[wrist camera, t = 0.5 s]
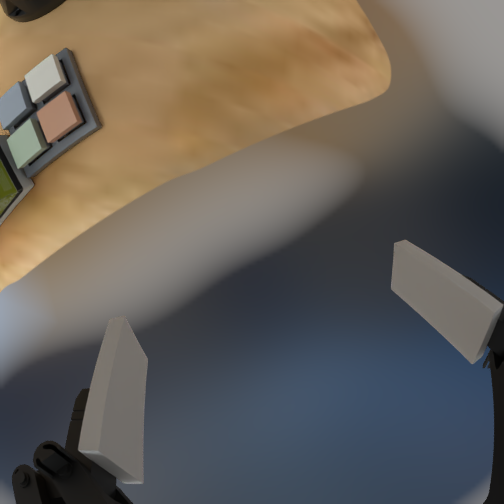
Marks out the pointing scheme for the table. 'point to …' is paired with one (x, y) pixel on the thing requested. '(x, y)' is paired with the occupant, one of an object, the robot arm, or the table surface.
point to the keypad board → (78, 135)
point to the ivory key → (46, 79)
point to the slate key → (16, 106)
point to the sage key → (28, 143)
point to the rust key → (60, 117)
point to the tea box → (11, 181)
